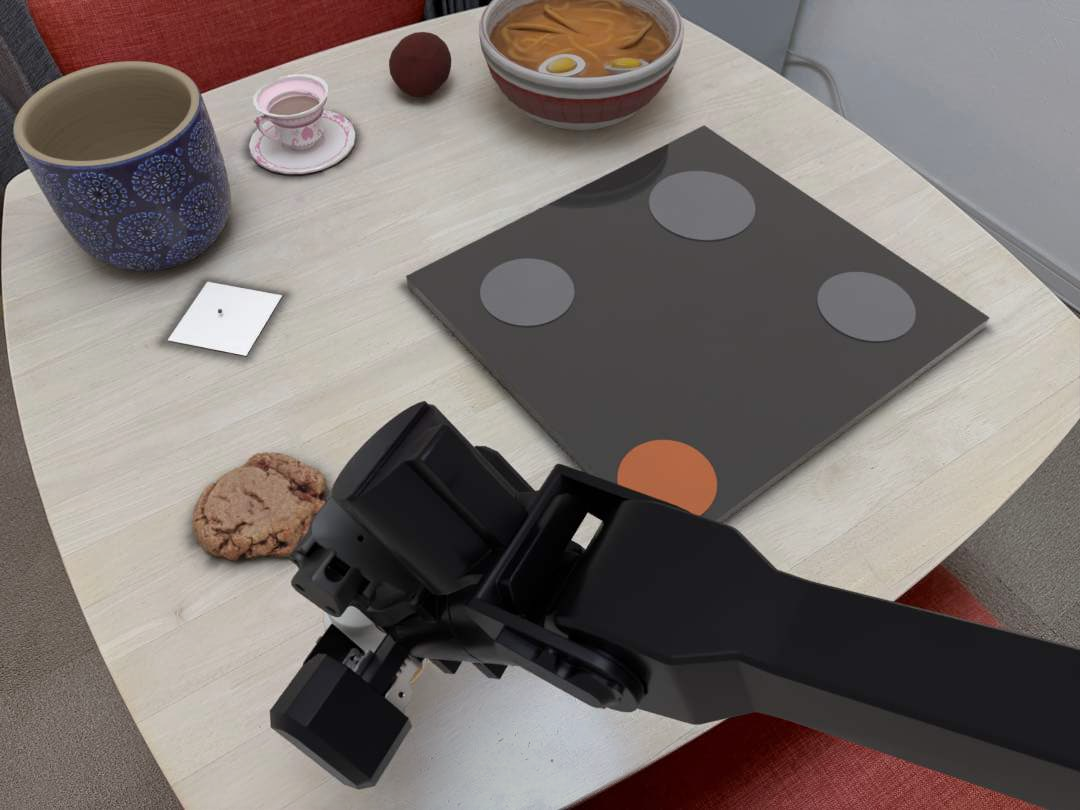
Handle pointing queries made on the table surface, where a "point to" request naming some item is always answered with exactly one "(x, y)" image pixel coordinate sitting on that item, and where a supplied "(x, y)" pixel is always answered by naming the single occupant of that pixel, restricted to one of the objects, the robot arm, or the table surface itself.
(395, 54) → the potato
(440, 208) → the table surface
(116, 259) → the planter
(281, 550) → the cookie
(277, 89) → the teacup
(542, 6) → the bowl
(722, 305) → the hob
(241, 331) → the coaster
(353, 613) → the pill bottle
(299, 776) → the table surface
